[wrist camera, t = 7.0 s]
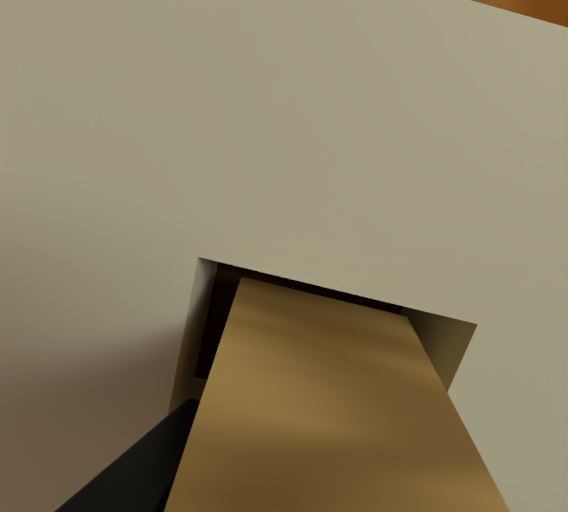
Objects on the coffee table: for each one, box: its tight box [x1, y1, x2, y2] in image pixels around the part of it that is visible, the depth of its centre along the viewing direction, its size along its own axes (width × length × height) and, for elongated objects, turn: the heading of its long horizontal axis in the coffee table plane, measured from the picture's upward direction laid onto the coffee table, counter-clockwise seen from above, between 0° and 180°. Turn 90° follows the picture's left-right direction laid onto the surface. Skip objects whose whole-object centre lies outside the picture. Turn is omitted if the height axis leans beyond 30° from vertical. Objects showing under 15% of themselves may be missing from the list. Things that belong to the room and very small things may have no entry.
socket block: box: [0, 0, 568, 512], centre depth 11 cm, size 16×16×4 cm
